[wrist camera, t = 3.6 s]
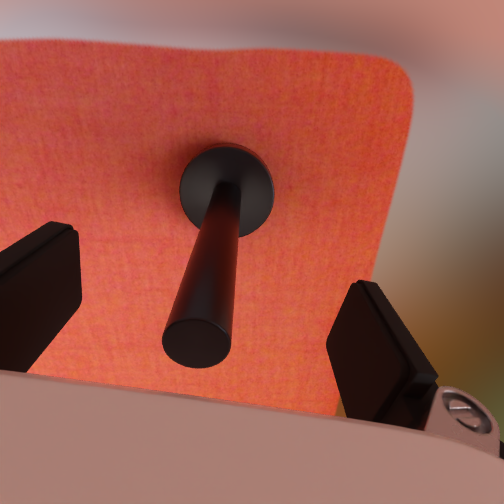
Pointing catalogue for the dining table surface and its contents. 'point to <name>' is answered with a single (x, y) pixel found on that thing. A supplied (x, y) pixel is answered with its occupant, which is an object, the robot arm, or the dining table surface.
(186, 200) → the black plunger
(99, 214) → the dining table surface
